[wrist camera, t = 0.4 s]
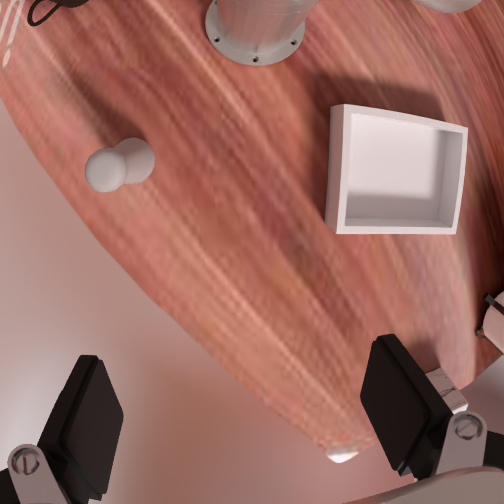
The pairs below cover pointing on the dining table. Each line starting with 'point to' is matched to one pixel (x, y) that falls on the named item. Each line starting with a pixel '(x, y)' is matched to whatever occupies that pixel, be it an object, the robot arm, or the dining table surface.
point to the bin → (393, 172)
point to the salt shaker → (119, 165)
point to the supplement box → (447, 390)
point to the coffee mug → (65, 0)
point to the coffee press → (494, 321)
